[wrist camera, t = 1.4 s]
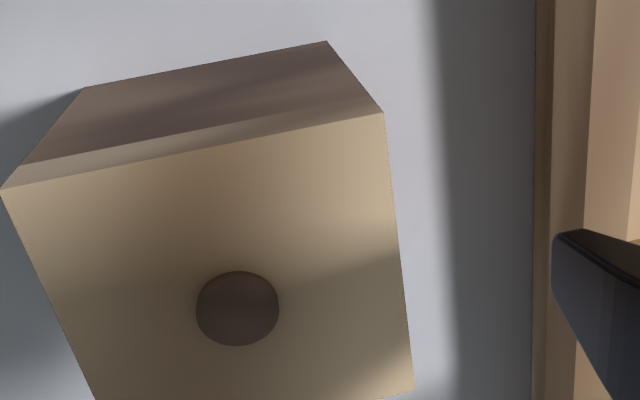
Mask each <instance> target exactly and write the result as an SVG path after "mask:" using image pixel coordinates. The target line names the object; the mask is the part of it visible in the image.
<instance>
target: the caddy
mask: <svg viewBox="0 0 640 400" xmlns="http://www.w3.org/2000/svg"><path fill="white" fill-rule="evenodd" d="M579 228H585V229H589V230H592V231H595V232H598V233H601V234H605V235H608V236H611V237H614V238H618V239H621V240H624V241H627V242H630V243H634V244H637V245H640V0H537V1H536V80H535V159H534V238H533V317H532V396H531V400H613V399H612V398H611V396H610V395H609V393H608V392H607V390H606V389H605V387H604V386H603V384H602V382H601V381H600V379H599V377H598V376H597V374H596V372H595V370H594V369H593V367H592V365H591V363H590V361H589V360H588V358H587V356H586V354H585V352H584V351H583V349H582V347H581V345H580V343H579V342H578V340H577V338H576V336H575V334H574V333H573V331H572V329H571V327H570V326H569V324H568V322H567V320H566V318H565V317H564V315H563V313H562V311H561V309H560V308H559V306H558V304H557V302H556V300H555V298H554V296H553V294H552V290H551V285H550V268H551V243H552V239H553V237H554V236H555V235H556V234H557V233H561V232H565V231H570V230H574V229H579Z"/></svg>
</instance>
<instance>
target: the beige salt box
mask: <svg viewBox="0 0 640 400" xmlns="http://www.w3.org/2000/svg"><path fill="white" fill-rule="evenodd" d="M0 196H1V198H2V200H3V202H4V205H5V207H6V209H7V211H8V213H9V215H10V217H11V220H12V222H13V224H14V226H15V228H16V230H17V233H18V235H19V237H20V239H21V241H22V243H23V245H24V248H25V250H26V252H27V254H28V256H29V258H30V260H31V263H32V265H33V267H34V269H35V271H36V273H37V276H38V278H39V280H40V282H41V284H42V286H43V288H44V291H45V293H46V295H47V297H48V299H49V301H50V303H51V306H52V308H53V310H54V312H55V314H56V316H57V319H58V321H59V323H60V325H61V327H62V329H63V331H64V334H65V336H66V338H67V340H68V342H69V344H70V347H71V349H72V351H73V353H74V355H75V357H76V359H77V362H78V364H79V366H80V368H81V370H82V372H83V374H84V377H85V379H86V381H87V383H88V385H89V387H90V390H91V392H92V394H93V396H94V398H95V400H376V399H380V398H384V397H389V396H393V395H397V394H402V393H406V392H410V391H415V383H414V374H413V366H412V357H411V348H410V339H409V331H408V322H407V313H406V304H405V296H404V287H403V278H402V269H401V260H400V252H399V243H398V234H397V225H396V217H395V208H394V199H393V190H392V181H391V173H390V164H389V155H388V146H387V138H386V129H385V120H384V112H383V111H382V110H381V108H380V107H379V106H378V105H377V103H376V102H375V101H374V100H373V98H372V97H371V96H370V95H369V93H368V92H367V91H366V90H365V88H364V87H363V86H362V85H361V83H360V82H359V81H358V80H357V78H356V77H355V76H354V75H353V73H352V72H351V71H350V69H349V68H348V67H347V66H346V64H345V63H344V62H343V61H342V59H341V58H340V57H339V56H338V54H337V53H336V52H335V51H334V49H333V48H332V47H331V46H330V44H329V43H328V42H327V41H321V42H316V43H311V44H306V45H301V46H296V47H290V48H285V49H280V50H275V51H270V52H265V53H259V54H254V55H249V56H244V57H239V58H234V59H228V60H223V61H218V62H213V63H208V64H203V65H198V66H192V67H187V68H182V69H177V70H172V71H167V72H161V73H156V74H151V75H146V76H141V77H136V78H130V79H125V80H120V81H115V82H110V83H105V84H99V85H94V86H89V87H84V88H83V89H82V91H81V92H80V93H79V94H78V95H77V97H76V98H75V99H74V100H73V101H72V103H71V104H70V105H69V106H68V107H67V109H66V110H65V111H64V112H63V113H62V114H61V116H60V117H59V118H58V119H57V120H56V122H55V123H54V124H53V125H52V126H51V128H50V129H49V130H48V131H47V132H46V134H45V135H44V136H43V137H42V138H41V140H40V141H39V142H38V143H37V144H36V145H35V147H34V148H33V149H32V150H31V151H30V153H29V154H28V155H27V156H26V157H25V159H24V160H23V161H22V162H21V163H20V165H19V166H18V167H17V168H16V169H15V170H14V172H13V173H12V174H11V175H10V176H9V178H8V179H7V180H6V181H5V182H4V184H3V185H2V186H1V187H0Z"/></svg>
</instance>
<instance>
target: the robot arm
mask: <svg viewBox="0 0 640 400" xmlns="http://www.w3.org/2000/svg"><path fill="white" fill-rule="evenodd" d="M550 285H551V290H552V294H553V296H554V298H555V300H556V302H557V304H558V306H559V308H560V309H561V311H562V313H563V315H564V317H565V318H566V320H567V322H568V324H569V326H570V327H571V329H572V331H573V333H574V334H575V336H576V338H577V340H578V342H579V343H580V345H581V347H582V349H583V351H584V352H585V354H586V356H587V358H588V360H589V361H590V363H591V365H592V367H593V369H594V370H595V372H596V374H597V376H598V377H599V379H600V381H601V382H602V384H603V386H604V387H605V389H606V390H607V392H608V393H609V395H610V396H611V398H612V399H613V400H640V245H637V244H634V243H630V242H627V241H624V240H621V239H618V238H614V237H611V236H608V235H605V234H601V233H598V232H595V231H592V230H589V229H585V228H579V229H574V230H570V231H565V232H561V233H557V234H556V235H555V236H554V237H553V239H552V243H551V268H550Z"/></svg>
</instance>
